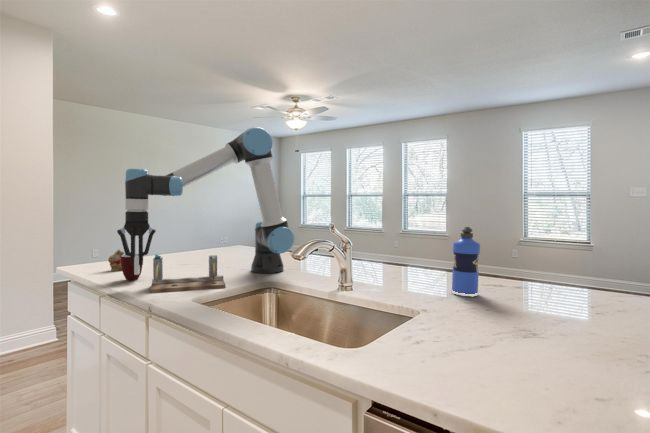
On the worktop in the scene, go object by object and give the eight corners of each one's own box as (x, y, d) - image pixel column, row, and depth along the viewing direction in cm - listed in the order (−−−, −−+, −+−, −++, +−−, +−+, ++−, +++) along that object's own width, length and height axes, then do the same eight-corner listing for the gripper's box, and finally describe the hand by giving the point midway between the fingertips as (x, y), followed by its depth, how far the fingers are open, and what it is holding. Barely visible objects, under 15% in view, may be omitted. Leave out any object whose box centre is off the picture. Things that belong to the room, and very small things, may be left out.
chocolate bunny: (113, 269, 169) (113, 247, 169) (130, 268, 170) (130, 247, 170) (107, 271, 164) (107, 249, 163) (125, 271, 165) (125, 249, 164)
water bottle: (478, 292, 137) (481, 226, 136) (477, 298, 129) (480, 228, 128) (452, 289, 141) (454, 225, 140) (450, 295, 133) (452, 227, 131)
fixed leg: (216, 274, 147) (216, 255, 147) (218, 278, 140) (218, 258, 139) (208, 275, 146) (208, 255, 146) (209, 279, 139) (210, 258, 138)
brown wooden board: (222, 280, 149) (222, 274, 149) (225, 287, 138) (225, 280, 138) (153, 285, 140) (153, 278, 140) (150, 292, 129) (150, 285, 129)
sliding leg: (162, 277, 140) (162, 254, 139) (161, 282, 133) (161, 257, 132) (154, 278, 139) (153, 254, 138) (152, 282, 132) (152, 257, 131)
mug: (150, 280, 148) (150, 256, 147) (129, 283, 141) (129, 258, 141) (137, 276, 154) (137, 253, 154) (117, 279, 148) (117, 255, 147)
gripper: (157, 210, 140) (156, 271, 141) (118, 210, 135) (118, 272, 136) (155, 211, 133) (155, 275, 134) (115, 211, 128) (115, 277, 129)
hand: (136, 273), depth 135 cm, fingers closed
